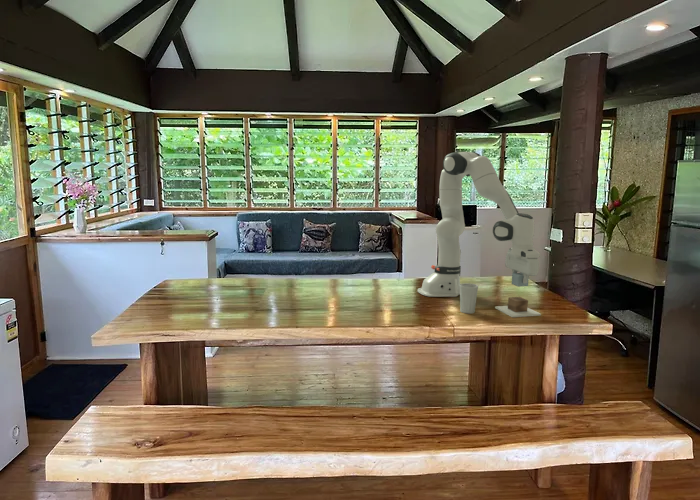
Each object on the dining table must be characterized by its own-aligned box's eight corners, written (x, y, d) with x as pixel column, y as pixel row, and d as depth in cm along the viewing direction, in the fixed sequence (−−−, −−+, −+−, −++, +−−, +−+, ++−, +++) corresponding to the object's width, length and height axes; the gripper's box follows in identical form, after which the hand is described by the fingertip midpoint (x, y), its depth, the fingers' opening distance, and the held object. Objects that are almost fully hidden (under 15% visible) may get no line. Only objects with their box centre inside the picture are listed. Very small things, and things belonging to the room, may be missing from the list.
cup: (473, 315, 209) (475, 288, 207) (455, 311, 213) (457, 285, 211) (478, 310, 215) (480, 284, 213) (461, 307, 220) (463, 282, 218)
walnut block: (515, 312, 211) (516, 301, 210) (507, 308, 217) (508, 297, 216) (527, 311, 213) (528, 300, 212) (519, 307, 218) (520, 296, 217)
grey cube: (518, 286, 210) (518, 275, 209) (511, 284, 214) (512, 273, 214) (528, 286, 211) (528, 274, 210) (521, 283, 216) (522, 272, 215)
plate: (512, 317, 206) (512, 315, 206) (495, 308, 220) (495, 306, 220) (540, 315, 210) (540, 313, 210) (521, 306, 223) (522, 304, 223)
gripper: (502, 247, 219) (500, 276, 221) (529, 254, 200) (527, 287, 202) (514, 246, 221) (512, 276, 223) (542, 254, 201) (540, 286, 203)
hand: (520, 281), depth 212 cm, fingers closed on grey cube, 5 cm apart
